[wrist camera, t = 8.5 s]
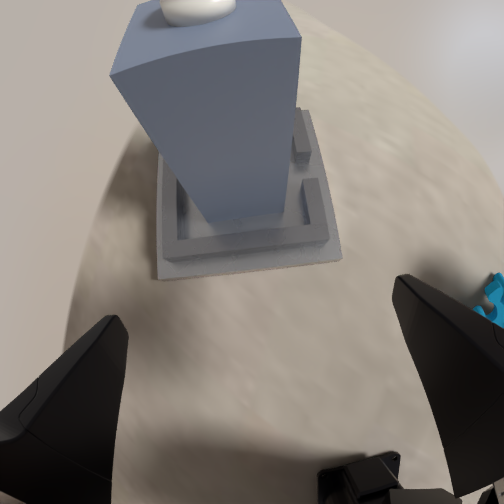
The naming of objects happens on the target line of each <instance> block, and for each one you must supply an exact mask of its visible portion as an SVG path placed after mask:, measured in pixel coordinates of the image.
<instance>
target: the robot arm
mask: <svg viewBox="0 0 504 504" xmlns="http://www.w3.org/2000/svg"><path fill="white" fill-rule="evenodd" d="M392 302H393V305H394V308H395V311H396V314H397V317H398V320H399V323H400V326H401V330H402V333H403V336H404V339H405V342H406V344H407V347H408V349H409V352H410V354H411V356H412V359H413V361H414V364H415V366H416V369H417V371H418V374H419V376H420V379H421V382H422V384H423V387H424V390H425V392H426V395H427V398H428V401H429V404H430V407H431V409H432V412H433V415H434V419H435V422H436V425H437V428H438V431H439V435H440V438H441V441H442V445H443V448H444V453H445V457H446V461H447V465H448V469H449V473H450V477H451V482H452V487H453V492H454V495H453V494H451V493H449V492H448V491H446V490H444V489H442V488H438V489H404V488H403V487H402V486H401V484H400V483H399V481H398V473H399V466H400V454H399V453H398V452H392V453H389V454H386V455H382V456H379V457H374V458H371V459H367V460H363V461H360V462H356V463H351V464H347V465H345V466H340V467H336V468H331V469H326V470H322V471H320V472H319V473H318V474H317V504H462V500H461V499H460V498H459V497H462V496H465V495H467V494H470V493H472V492H474V491H477V490H479V489H481V488H484V487H486V486H488V485H490V484H492V483H493V486H491V487H490V488H489V489H487V490H486V491H484V492H483V493H482V495H481V497H480V499H479V501H478V503H477V504H504V328H502V327H500V326H499V325H497V324H496V323H494V322H492V321H491V320H489V319H487V318H486V317H484V316H482V315H481V314H479V313H477V312H476V311H474V310H472V309H471V308H469V307H467V306H465V305H464V304H462V303H460V302H459V301H457V300H455V299H453V298H452V297H450V296H448V295H446V294H444V293H443V292H441V291H439V290H437V289H436V288H434V287H432V286H430V285H428V284H426V283H425V282H423V281H421V280H419V279H417V278H415V277H413V276H412V275H410V274H403V275H399V276H397V277H396V279H395V283H394V288H393V293H392ZM128 340H129V336H128V332H127V330H126V328H125V327H124V325H123V323H122V321H121V320H120V318H119V317H118V316H117V315H106V316H105V317H104V318H102V319H101V320H100V321H99V322H98V323H97V324H95V325H94V326H93V327H92V328H91V329H90V330H89V331H88V332H86V333H85V334H84V335H83V336H82V337H81V338H80V339H79V340H77V341H76V342H75V343H74V344H73V345H72V346H71V347H70V348H69V349H68V350H66V351H65V352H64V353H63V354H62V355H61V356H60V357H59V358H58V359H57V360H56V361H55V362H54V363H53V364H51V365H50V366H49V367H48V368H47V369H46V370H45V371H44V372H43V373H42V374H41V375H40V376H39V378H37V379H36V380H35V381H34V382H32V384H31V385H30V386H28V387H27V388H26V389H25V390H24V391H23V392H22V393H21V394H20V395H18V396H17V397H16V398H15V399H14V400H13V401H12V402H10V403H9V404H8V405H7V406H6V407H5V408H3V409H2V410H1V411H0V504H111V490H112V471H113V458H114V448H115V439H116V430H117V423H118V415H119V409H120V402H121V396H122V390H123V384H124V378H125V370H126V359H127V349H128ZM395 456H396V457H395ZM393 457H395V458H394V459H392V458H393ZM323 475H326V476H325V477H322V476H323Z"/></svg>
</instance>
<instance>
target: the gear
mask: <svg viewBox="0 0 504 504" xmlns="http://www.w3.org/2000/svg"><path fill="white" fill-rule="evenodd" d="M485 293H486V295H487V297H488V300H489V301H490V302H492V303H493V304H494V309H493V311H492V312H491V313H490V314H488V315H485V313H484V311H483V309H482V307H481V306H475V307H474V308H473V310H474V311H476V312H477V313H479V314H481V315H482V316H484V317H486V318H487V319H489V320H491V321H492V322H494V323H496V324H497V325H499V326H500V327H502V328H504V277H503V276H502V274H501V273H497V274H495V276H494V277H493V282H491V283H490V284H489V285H488V286H487V287H485Z"/></svg>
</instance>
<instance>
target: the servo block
mask: <svg viewBox="0 0 504 504" xmlns="http://www.w3.org/2000/svg"><path fill="white" fill-rule="evenodd" d="M301 40H302V37H301V35H300V33H299V31H298V29H297V28H296V26H295V24H294V22H293V20H292V19H291V17H290V15H289V13H288V12H287V10H286V8H285V7H284V5H283V3H282V2H281V0H151V1H148V2H145V3H142V4H139V5H137V7H136V9H135V12H134V14H133V16H132V18H131V20H130V23H129V25H128V27H127V29H126V32H125V34H124V37H123V39H122V42H121V44H120V47H119V50H118V52H117V55H116V58H115V60H114V63H113V66H112V69H111V72H110V77H111V79H112V81H113V82H114V84H115V85H116V87H117V88H118V90H119V92H120V93H121V95H122V96H123V98H124V99H125V101H126V102H127V104H128V105H129V107H130V108H131V110H132V112H133V113H134V115H135V116H136V118H137V119H138V121H139V122H140V124H141V125H142V127H143V128H144V130H145V131H146V133H147V134H148V136H149V137H150V139H151V140H152V142H153V143H154V145H155V146H156V148H157V149H158V151H159V152H160V154H161V155H162V157H163V158H164V160H165V161H166V163H167V164H168V166H169V167H170V169H171V170H172V172H173V173H174V175H175V176H176V177H177V179H178V180H179V182H180V183H181V185H182V186H183V188H184V189H185V191H186V192H187V194H188V195H189V196H190V198H191V199H192V201H193V202H194V204H195V205H196V207H197V208H198V210H199V211H200V212H201V214H202V215H203V217H204V218H205V220H206V221H207V223H212V222H218V221H225V220H231V219H238V218H244V217H251V216H258V215H265V214H273V213H280V212H284V207H285V199H286V191H287V182H288V174H289V165H290V156H291V147H292V138H293V129H294V119H295V109H296V98H297V88H298V76H299V65H300V53H301Z"/></svg>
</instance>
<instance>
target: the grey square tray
mask: <svg viewBox="0 0 504 504" xmlns="http://www.w3.org/2000/svg"><path fill="white" fill-rule="evenodd" d="M156 237H157V272H158V280H162V281H169V280H179V279H189V278H199V277H208V276H218V275H227V274H236V273H245V272H254V271H263V270H271V269H280V268H288V267H297V266H305V265H313V264H321V263H329V262H336V261H340V260H341V259H342V252H341V246H340V240H339V235H338V229H337V224H336V219H335V214H334V209H333V204H332V199H331V195H330V190H329V186H328V181H327V177H326V173H325V169H324V165H323V161H322V157H321V153H320V149H319V145H318V141H317V138H316V134H315V130H314V127H313V123H312V120H311V116H310V113H309V110H301V108H300V107H299V108H296V109H295V119H294V129H293V138H292V147H291V156H290V165H289V174H288V182H287V191H286V199H285V207H284V212H280V213H273V214H265V215H258V216H251V217H244V218H238V219H231V220H225V221H218V222H212V223H207V221H206V220H205V218H204V217H203V215H202V214H201V212H200V211H199V210H198V208H197V207H196V205H195V204H194V202H193V201H192V199H191V198H190V196H189V195H188V194H187V192H186V191H185V189H184V188H183V186H182V185H181V183H180V182H179V180H178V179H177V177H176V176H175V175H174V173H173V172H172V170H171V169H170V167H169V166H168V164H167V163H166V161H165V160H164V158H163V157H162V155H161V154H160V152H159V155H158V174H157V208H156Z"/></svg>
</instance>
